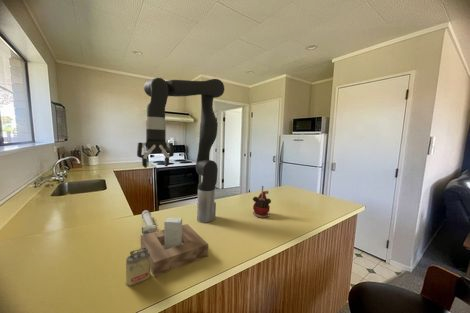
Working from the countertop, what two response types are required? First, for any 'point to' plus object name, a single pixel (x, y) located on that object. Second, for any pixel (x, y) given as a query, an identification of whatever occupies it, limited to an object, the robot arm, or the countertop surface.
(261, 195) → the mouse candy apple
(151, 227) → the white flashlight
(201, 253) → the holder block
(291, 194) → the countertop surface
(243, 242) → the countertop surface
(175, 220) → the skincare box
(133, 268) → the beige logo box
